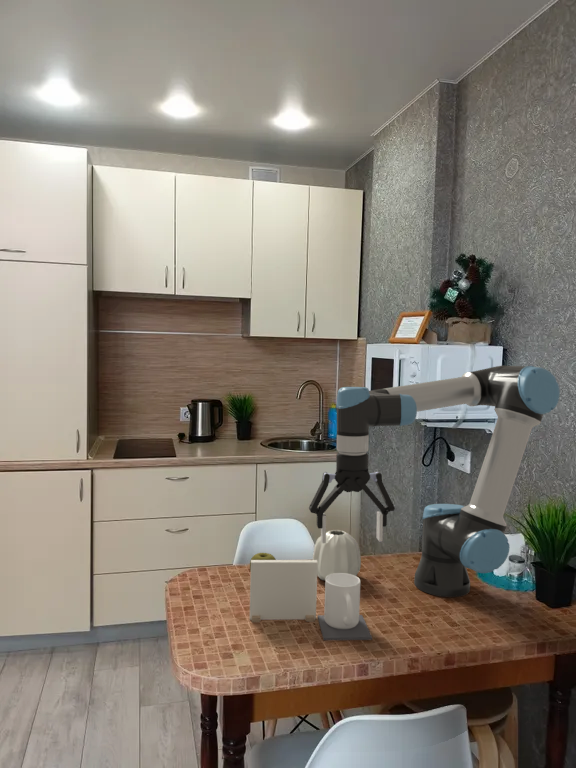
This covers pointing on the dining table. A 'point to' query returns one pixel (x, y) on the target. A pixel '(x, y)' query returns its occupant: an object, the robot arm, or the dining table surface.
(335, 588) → the mug
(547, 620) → the dining table surface
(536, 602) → the dining table surface
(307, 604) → the screen
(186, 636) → the dining table surface
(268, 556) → the apple
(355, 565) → the vase
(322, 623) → the pad
